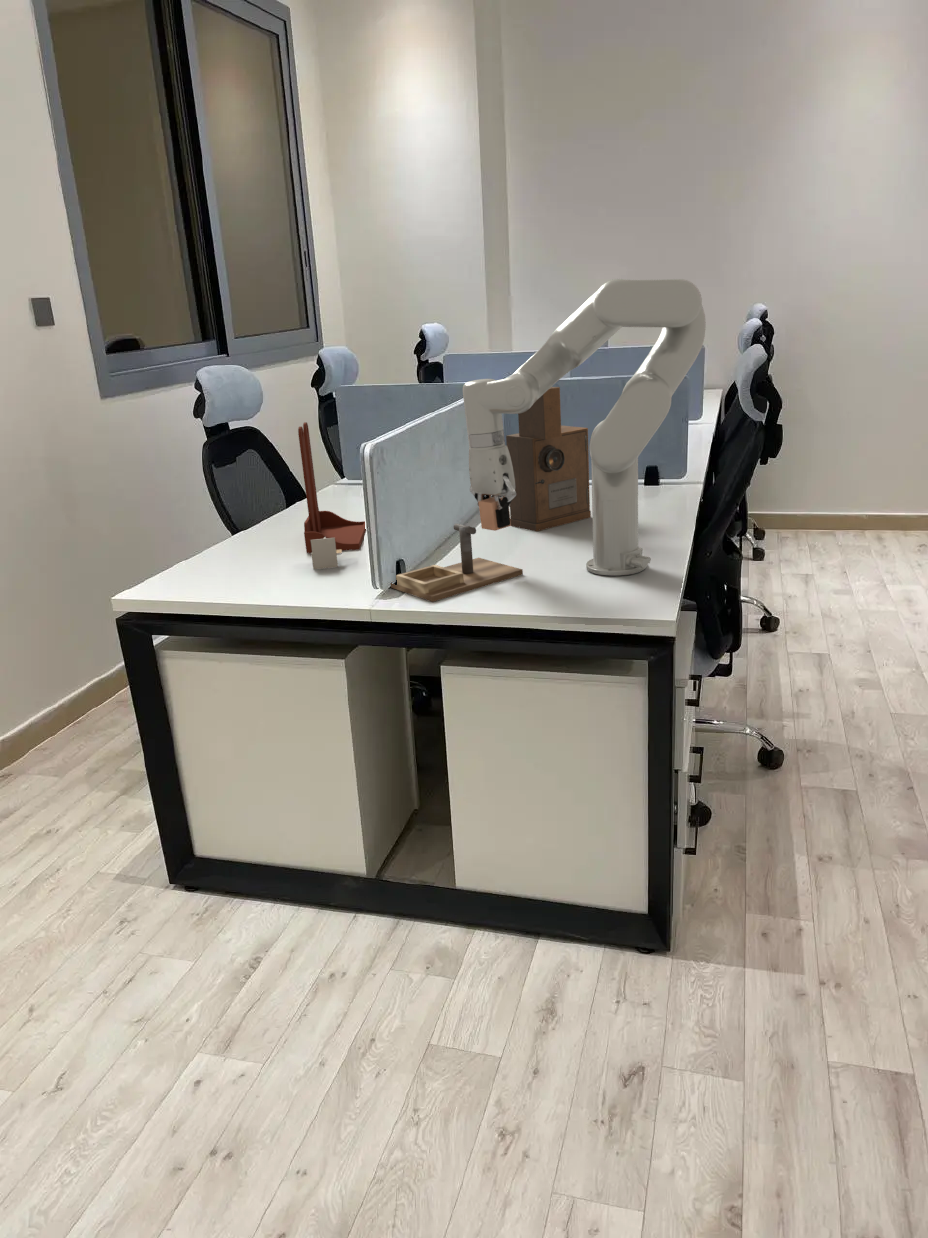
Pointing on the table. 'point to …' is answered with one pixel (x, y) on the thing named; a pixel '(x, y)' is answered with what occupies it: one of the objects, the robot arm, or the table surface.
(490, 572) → the wooden board with post
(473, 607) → the table surface
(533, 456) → the vintage camera
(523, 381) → the robot arm
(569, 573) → the table surface
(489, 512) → the salmon orange block
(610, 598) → the table surface
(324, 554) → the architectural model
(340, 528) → the red dustpan
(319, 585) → the table surface
